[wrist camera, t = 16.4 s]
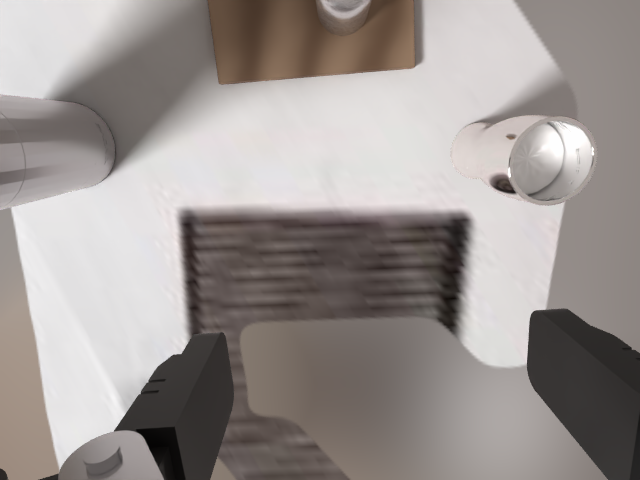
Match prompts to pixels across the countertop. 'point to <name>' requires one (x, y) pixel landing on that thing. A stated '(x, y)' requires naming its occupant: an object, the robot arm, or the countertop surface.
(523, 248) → the countertop surface
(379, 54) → the walnut board
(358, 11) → the pepper grinder
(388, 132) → the countertop surface
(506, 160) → the beer glass
